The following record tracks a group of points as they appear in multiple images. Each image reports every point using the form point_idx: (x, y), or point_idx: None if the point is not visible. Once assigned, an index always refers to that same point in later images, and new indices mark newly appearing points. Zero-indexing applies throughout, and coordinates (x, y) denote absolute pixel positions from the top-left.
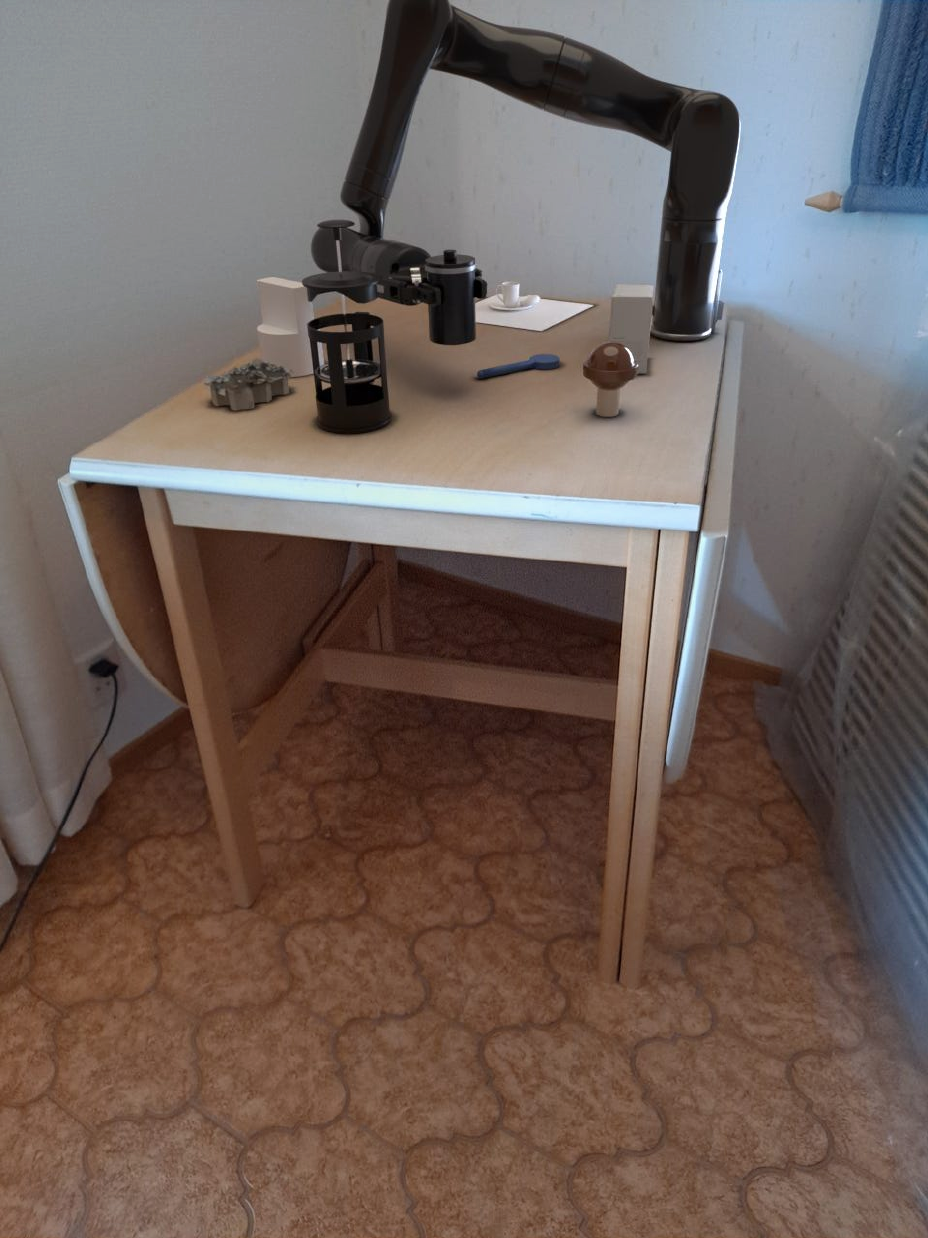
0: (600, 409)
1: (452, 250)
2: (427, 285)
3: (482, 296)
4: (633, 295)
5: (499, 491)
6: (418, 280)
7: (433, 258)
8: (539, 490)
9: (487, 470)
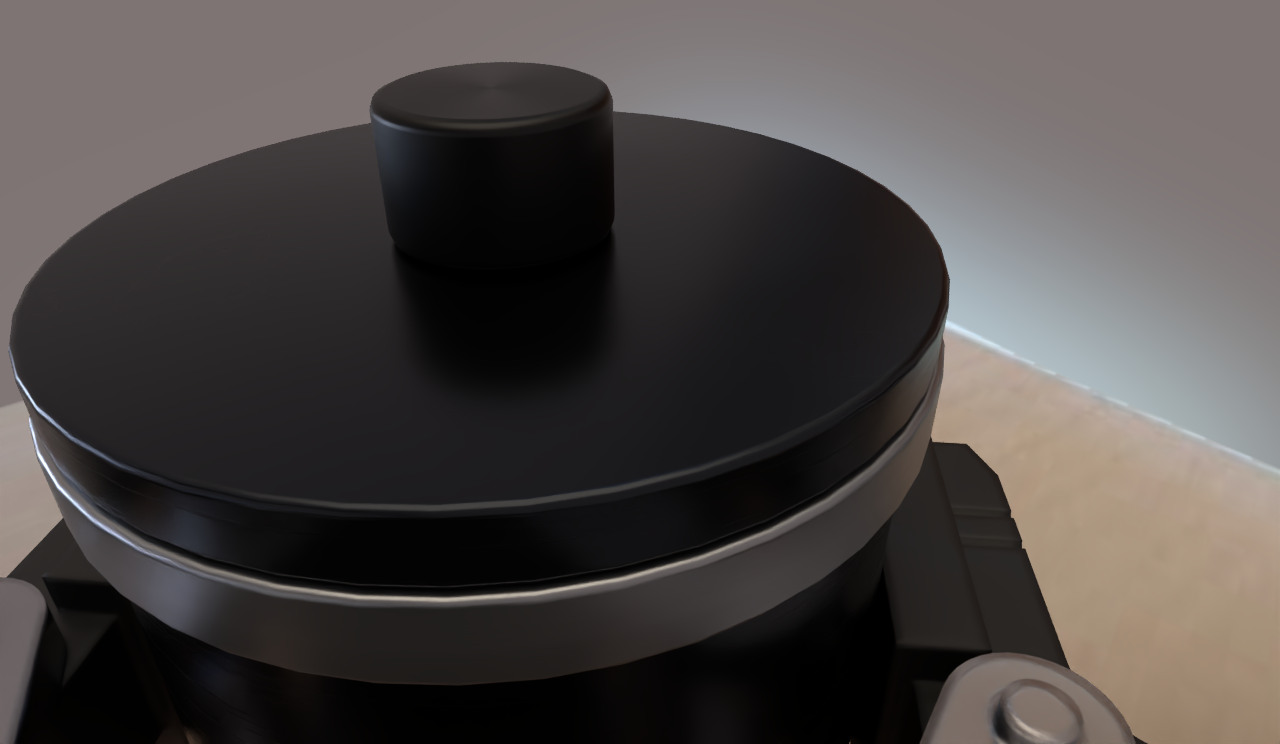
0: None
1: (461, 81)
2: (932, 521)
3: None
4: None
5: (972, 339)
6: (1009, 704)
7: (672, 373)
8: None
9: (947, 406)
